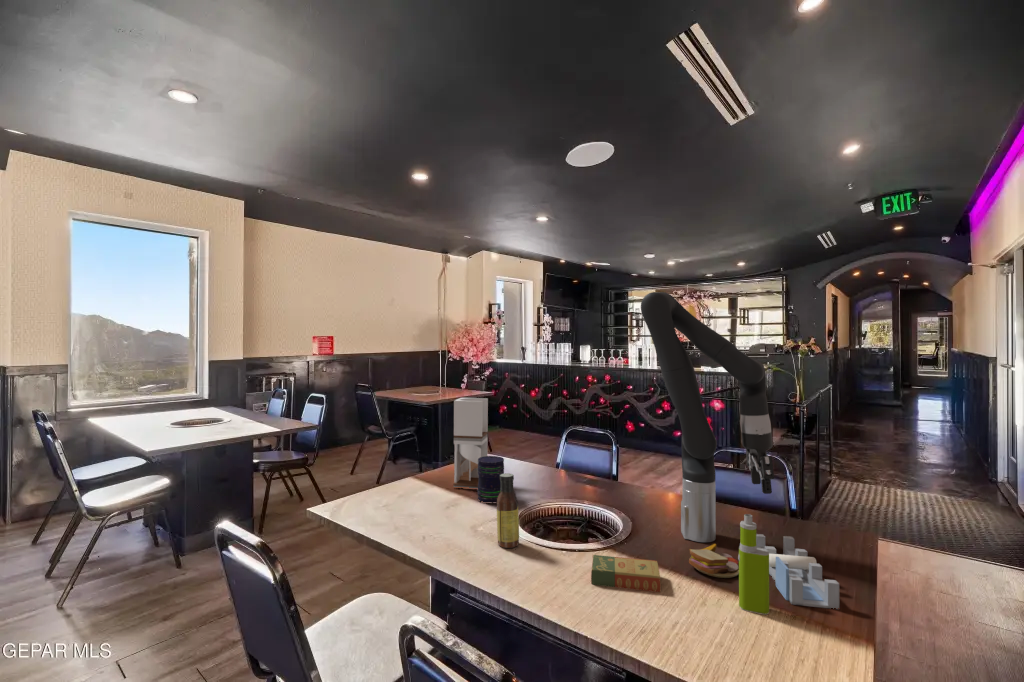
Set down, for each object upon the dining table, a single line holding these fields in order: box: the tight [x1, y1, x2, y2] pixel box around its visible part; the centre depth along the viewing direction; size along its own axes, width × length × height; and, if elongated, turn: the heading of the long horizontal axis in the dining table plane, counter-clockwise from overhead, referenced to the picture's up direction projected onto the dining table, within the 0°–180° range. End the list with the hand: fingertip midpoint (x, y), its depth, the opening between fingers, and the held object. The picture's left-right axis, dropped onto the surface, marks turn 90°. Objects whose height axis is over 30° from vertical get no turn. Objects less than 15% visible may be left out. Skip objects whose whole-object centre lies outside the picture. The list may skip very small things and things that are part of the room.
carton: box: [590, 554, 662, 593], centre depth 113 cm, size 8×16×4 cm, turn 77°
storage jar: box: [477, 455, 505, 502], centre depth 172 cm, size 10×10×15 cm
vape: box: [737, 513, 770, 615], centre depth 102 cm, size 4×6×20 cm, turn 67°
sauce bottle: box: [496, 472, 520, 549], centre depth 133 cm, size 6×6×20 cm
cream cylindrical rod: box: [769, 553, 818, 570], centre depth 115 cm, size 10×3×3 cm, turn 79°
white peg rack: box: [756, 533, 840, 610], centre depth 115 cm, size 10×26×7 cm, turn 169°
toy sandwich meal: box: [688, 543, 739, 579], centre depth 120 cm, size 12×14×5 cm
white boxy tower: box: [452, 397, 489, 488], centre depth 190 cm, size 11×11×35 cm
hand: (761, 488), depth 129 cm, fingers open, 8 cm apart
